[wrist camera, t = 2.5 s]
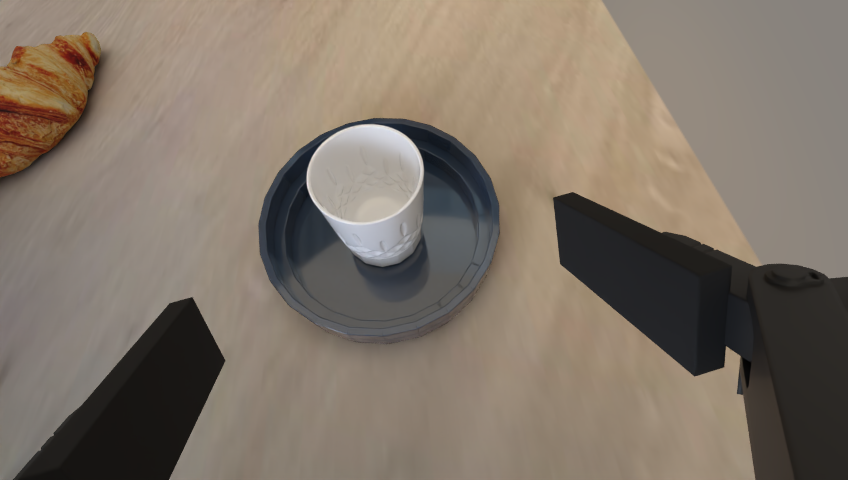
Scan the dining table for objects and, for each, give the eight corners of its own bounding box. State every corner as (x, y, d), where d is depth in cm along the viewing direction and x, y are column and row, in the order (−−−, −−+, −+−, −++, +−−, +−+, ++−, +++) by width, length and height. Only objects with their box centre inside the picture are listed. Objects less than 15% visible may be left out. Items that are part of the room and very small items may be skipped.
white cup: (428, 273, 34) (423, 223, 25) (337, 274, 34) (299, 225, 25) (427, 192, 37) (423, 122, 28) (343, 194, 38) (312, 125, 28)
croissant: (106, 68, 50) (29, 11, 44) (141, 48, 45) (59, -20, 39) (-12, 211, 42) (-125, 164, 36) (14, 209, 37) (-115, 154, 31)
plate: (236, 228, 37) (214, 208, 33) (397, 112, 42) (392, 83, 38) (367, 397, 31) (358, 396, 27) (539, 239, 35) (550, 219, 32)
